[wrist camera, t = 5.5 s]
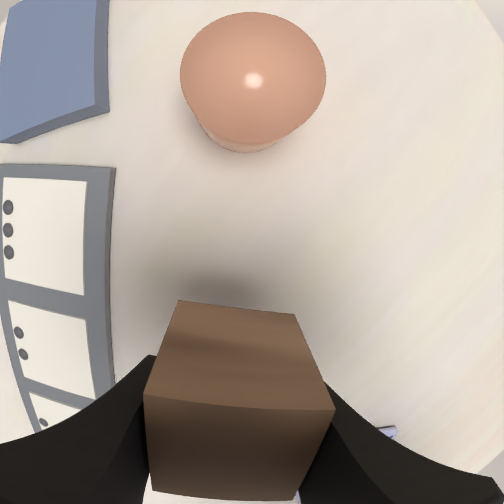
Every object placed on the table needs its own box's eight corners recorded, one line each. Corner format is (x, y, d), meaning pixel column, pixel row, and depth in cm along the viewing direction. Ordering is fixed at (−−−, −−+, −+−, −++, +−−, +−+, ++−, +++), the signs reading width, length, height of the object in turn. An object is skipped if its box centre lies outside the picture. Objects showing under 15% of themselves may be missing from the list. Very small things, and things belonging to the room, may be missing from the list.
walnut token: (272, 400, 12) (292, 500, 7) (173, 390, 11) (152, 490, 6) (294, 314, 11) (336, 409, 6) (178, 300, 10) (143, 393, 5)
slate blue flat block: (111, 112, 15) (94, 104, 12) (19, 144, 15) (-3, 142, 12) (112, -18, 12) (101, -36, 10) (26, 19, 12) (9, 8, 10)
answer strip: (128, 463, 21) (125, 472, 20) (42, 436, 20) (37, 444, 19) (116, 168, 15) (108, 167, 14) (1, 164, 14) (-10, 164, 13)
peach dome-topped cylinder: (286, 159, 16) (316, 151, 10) (191, 146, 15) (168, 130, 9) (298, 73, 15) (331, 27, 9) (206, 59, 14) (195, 6, 8)
